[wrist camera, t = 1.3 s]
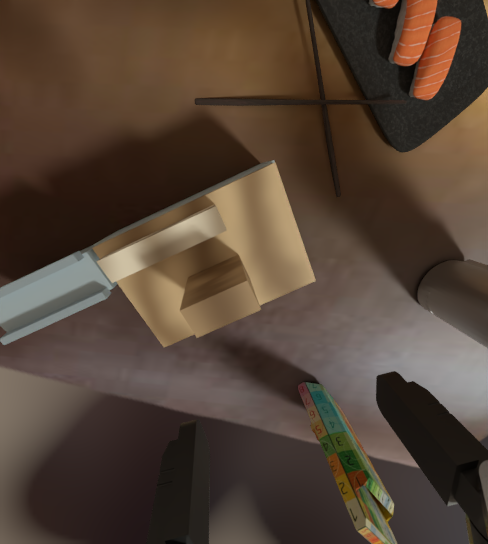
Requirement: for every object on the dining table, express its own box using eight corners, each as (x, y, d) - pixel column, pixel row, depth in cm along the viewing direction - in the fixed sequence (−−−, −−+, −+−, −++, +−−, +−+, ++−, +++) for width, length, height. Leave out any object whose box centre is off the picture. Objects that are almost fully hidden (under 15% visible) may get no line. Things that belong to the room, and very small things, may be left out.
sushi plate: (488, 82, 30) (524, 70, 27) (299, 239, 35) (309, 246, 32) (386, -250, 20) (423, -339, 17) (139, 34, 25) (127, 11, 21)
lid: (272, 162, 24) (299, 157, 16) (312, 277, 29) (346, 312, 22) (96, 245, 25) (46, 275, 17) (165, 342, 30) (149, 396, 23)
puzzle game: (293, 387, 45) (349, 534, 27) (315, 374, 44) (388, 515, 26) (322, 420, 49) (387, 566, 31) (342, 408, 49) (421, 550, 30)
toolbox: (260, 162, 30) (279, 157, 22) (296, 259, 36) (322, 285, 27) (29, 271, 32) (-38, 306, 23) (97, 348, 37) (62, 399, 29)
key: (215, 203, 23) (215, 206, 22) (225, 226, 24) (226, 230, 23) (105, 255, 24) (96, 261, 22) (119, 275, 25) (112, 283, 23)
